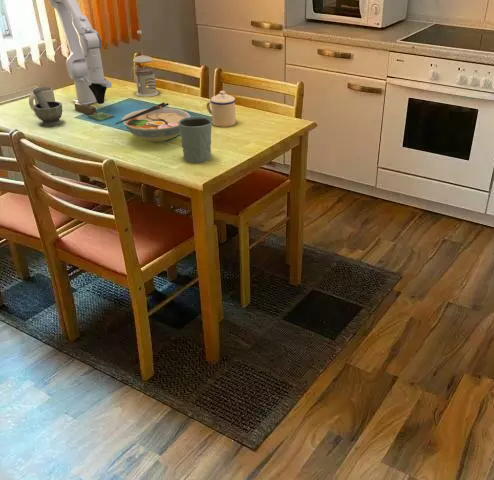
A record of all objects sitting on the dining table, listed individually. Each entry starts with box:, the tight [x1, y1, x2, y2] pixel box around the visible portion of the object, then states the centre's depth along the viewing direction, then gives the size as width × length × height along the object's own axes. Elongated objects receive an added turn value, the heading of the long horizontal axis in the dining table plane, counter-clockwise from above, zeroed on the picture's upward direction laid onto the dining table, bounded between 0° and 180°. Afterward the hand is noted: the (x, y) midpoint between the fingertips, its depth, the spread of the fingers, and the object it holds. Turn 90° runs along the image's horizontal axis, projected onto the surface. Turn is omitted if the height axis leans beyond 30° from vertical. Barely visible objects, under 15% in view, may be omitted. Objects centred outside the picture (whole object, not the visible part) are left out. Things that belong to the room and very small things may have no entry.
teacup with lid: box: [206, 90, 237, 128], centre depth 213 cm, size 12×9×12 cm
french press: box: [130, 29, 160, 98], centre depth 239 cm, size 10×12×25 cm
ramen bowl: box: [114, 102, 191, 143], centre depth 199 cm, size 25×23×8 cm
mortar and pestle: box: [32, 89, 63, 128], centre depth 211 cm, size 11×9×12 cm
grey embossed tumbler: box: [178, 116, 213, 164], centre depth 184 cm, size 10×10×12 cm
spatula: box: [73, 102, 114, 122], centre depth 222 cm, size 18×6×3 cm, turn 52°
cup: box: [28, 86, 56, 113], centre depth 221 cm, size 7×10×9 cm
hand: (100, 103), depth 226 cm, fingers closed
